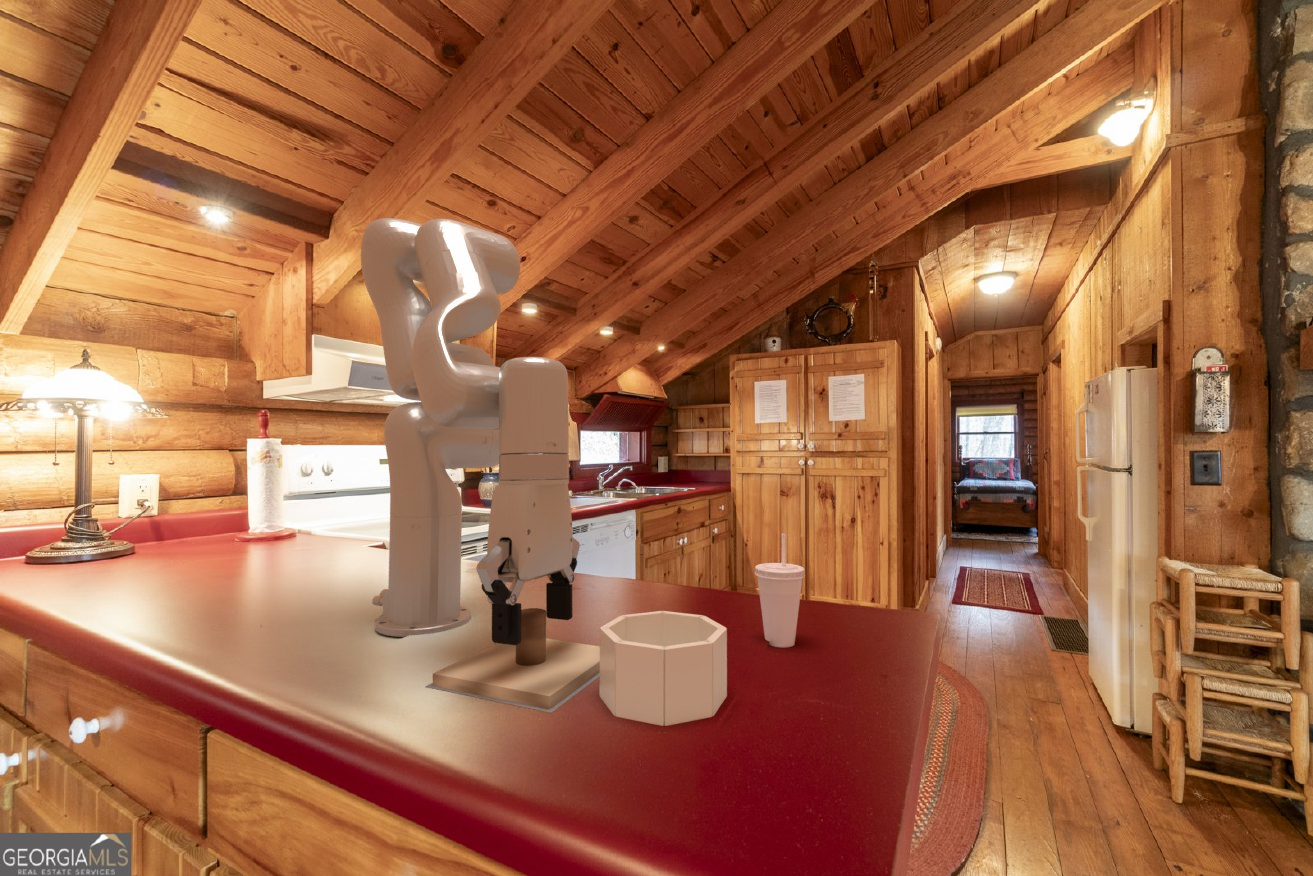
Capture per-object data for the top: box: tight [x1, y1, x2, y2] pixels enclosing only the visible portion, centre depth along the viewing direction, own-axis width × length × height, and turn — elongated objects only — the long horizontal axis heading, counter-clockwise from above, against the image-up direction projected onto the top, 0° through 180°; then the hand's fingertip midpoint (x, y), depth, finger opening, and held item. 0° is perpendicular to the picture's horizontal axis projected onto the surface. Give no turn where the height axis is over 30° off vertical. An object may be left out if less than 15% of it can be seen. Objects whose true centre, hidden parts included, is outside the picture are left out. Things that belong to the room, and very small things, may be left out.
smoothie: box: [754, 533, 806, 648], centre depth 72 cm, size 6×6×14 cm
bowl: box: [598, 610, 728, 727], centre depth 55 cm, size 12×12×7 cm
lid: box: [432, 607, 600, 709], centre depth 61 cm, size 14×14×6 cm
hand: (534, 630), depth 60 cm, fingers open, 9 cm apart
